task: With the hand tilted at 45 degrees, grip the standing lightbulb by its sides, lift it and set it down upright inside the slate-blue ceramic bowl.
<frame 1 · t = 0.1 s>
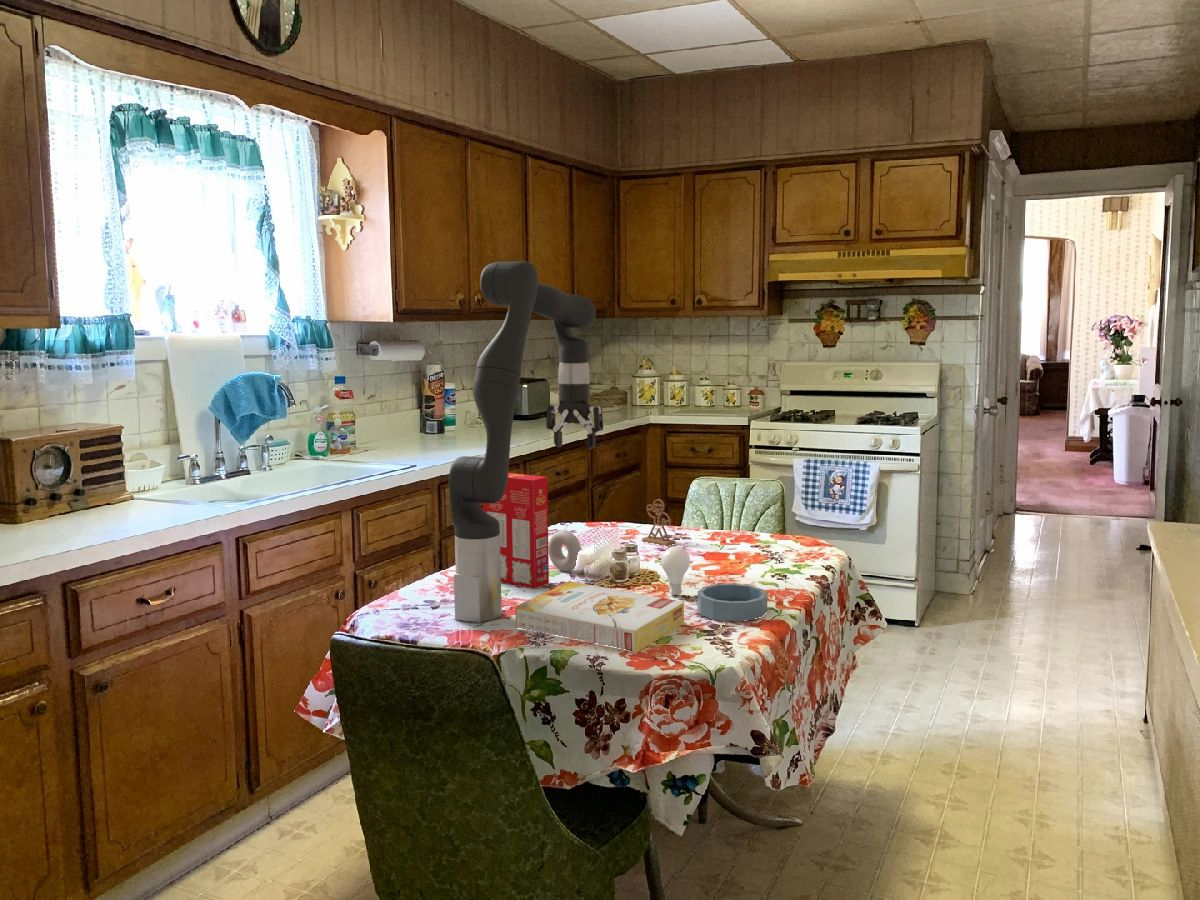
hand: (574, 448, 245), 29 cm above the table, tool pointing down, fingers open, 8 cm apart
bowl: (732, 611, 211), on the table
donut: (565, 571, 244), on the table
lightbulb: (675, 596, 223), on the table
gingerbread man figurine: (658, 543, 272), on the table
food packaging: (516, 582, 235), on the table
cereal box: (600, 629, 202), on the table
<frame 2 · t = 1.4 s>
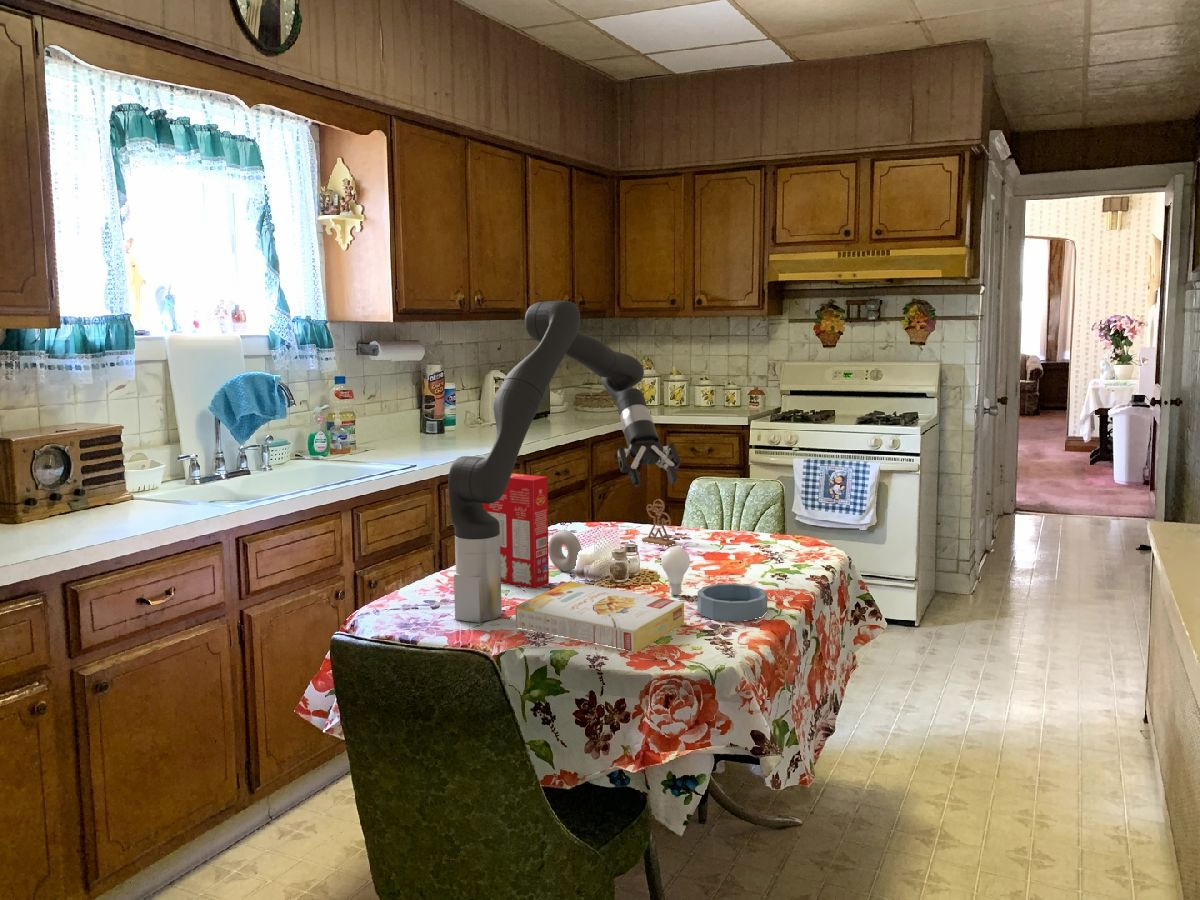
hand: (656, 483, 231), 23 cm above the table, tool tilted 45°, fingers open, 8 cm apart
nothing on the table moved.
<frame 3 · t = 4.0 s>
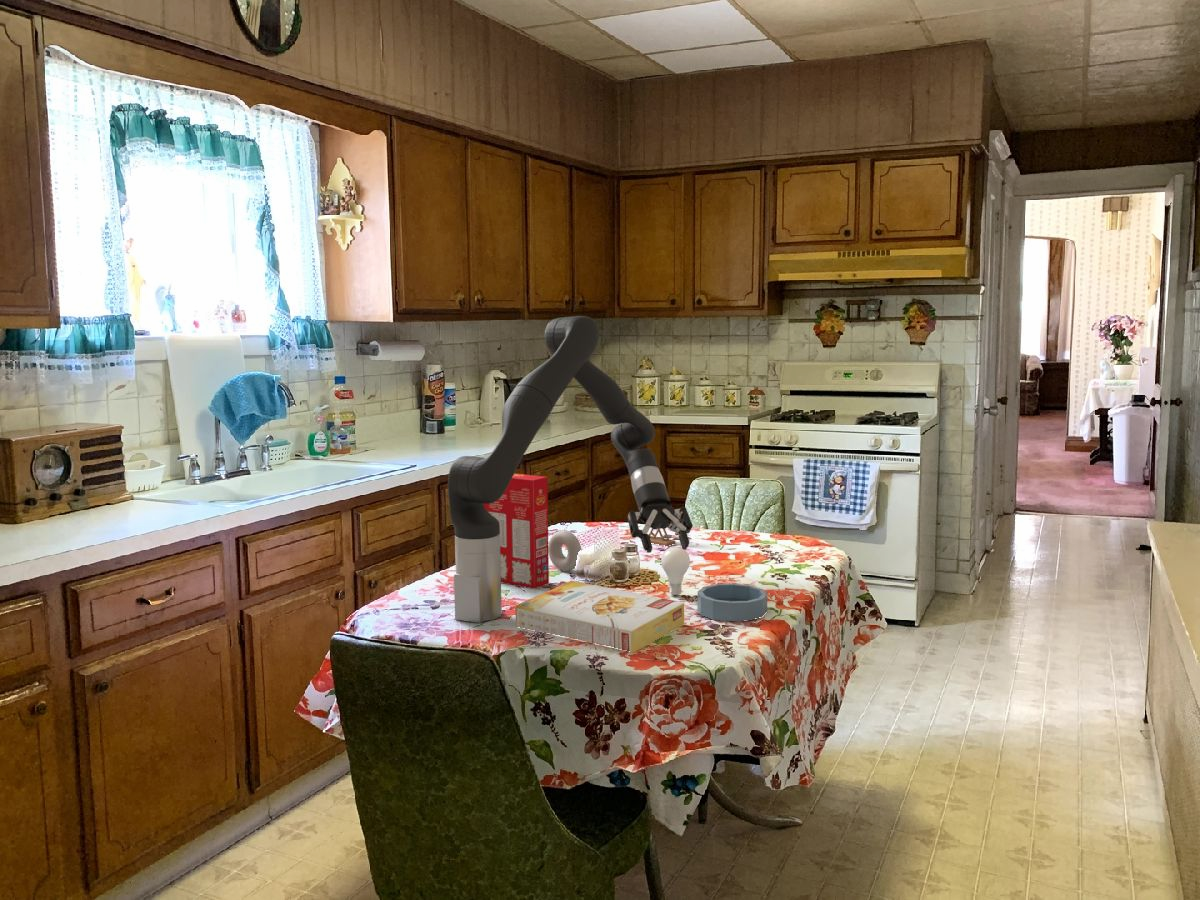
hand: (668, 549, 225), 9 cm above the table, tool tilted 45°, fingers open, 8 cm apart
nothing on the table moved.
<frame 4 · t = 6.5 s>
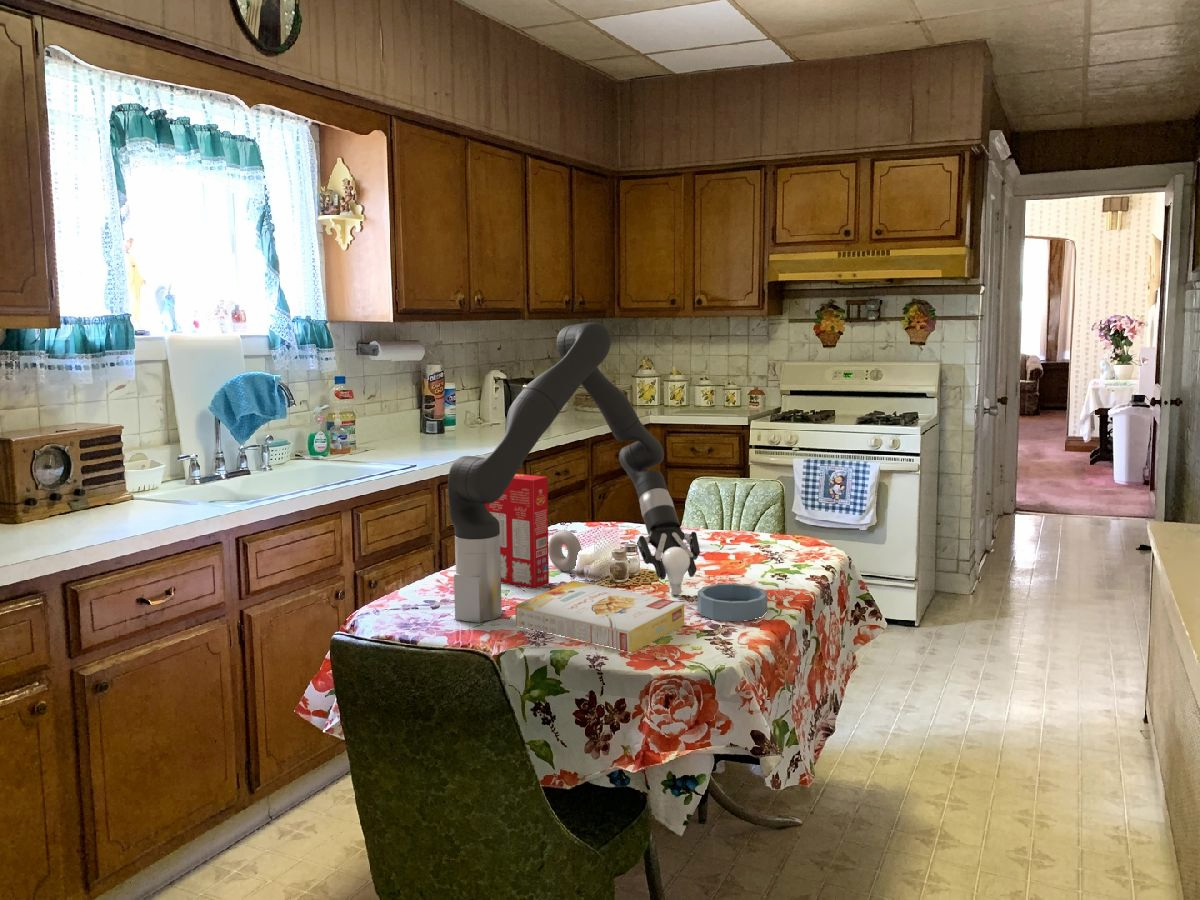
hand: (678, 576, 220), 5 cm above the table, tool tilted 45°, fingers closed on lightbulb, 6 cm apart
lightbulb: (675, 596, 223), on the table, touching gripper
everything else where it was.
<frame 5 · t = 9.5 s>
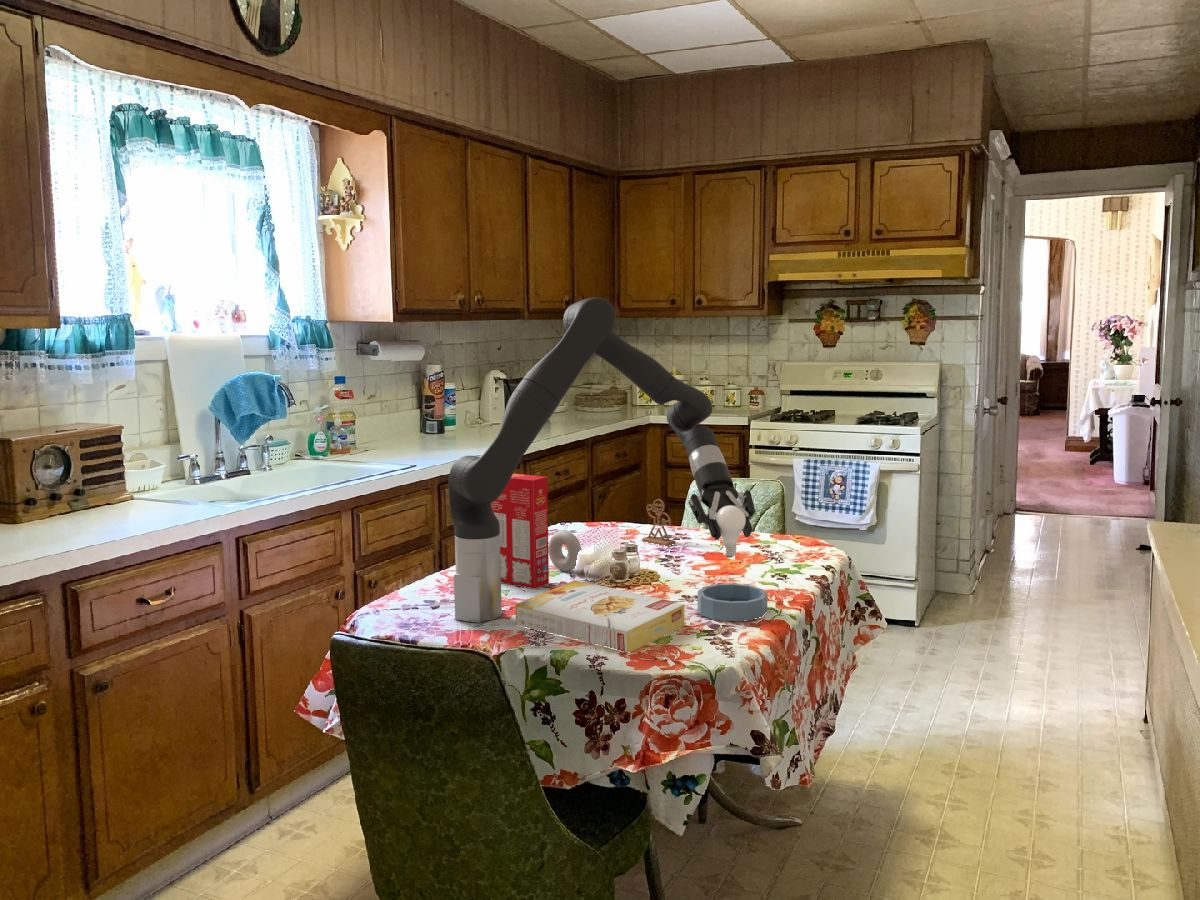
hand: (733, 536, 208), 16 cm above the table, tool tilted 45°, fingers closed on lightbulb, 6 cm apart
lightbulb: (729, 558, 211), point 11 cm above the table, touching gripper
everything else where it was.
when the fingers open (7 cm above the table, at t = 12.7 s): lightbulb drops 1 cm, resting on bowl.
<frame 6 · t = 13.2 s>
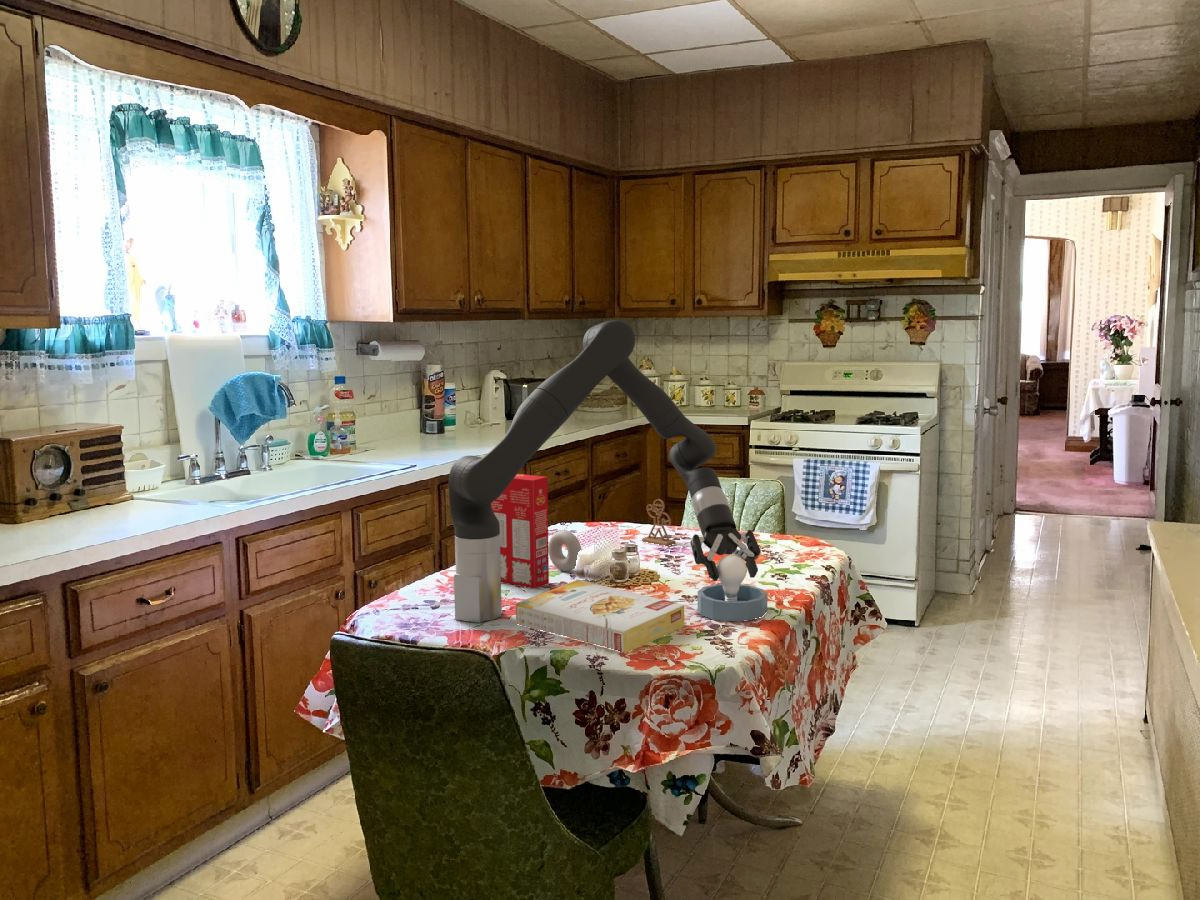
hand: (735, 577, 209), 8 cm above the table, tool tilted 45°, fingers open, 8 cm apart
lightbulb: (730, 607, 211), point 1 cm above the table, touching bowl
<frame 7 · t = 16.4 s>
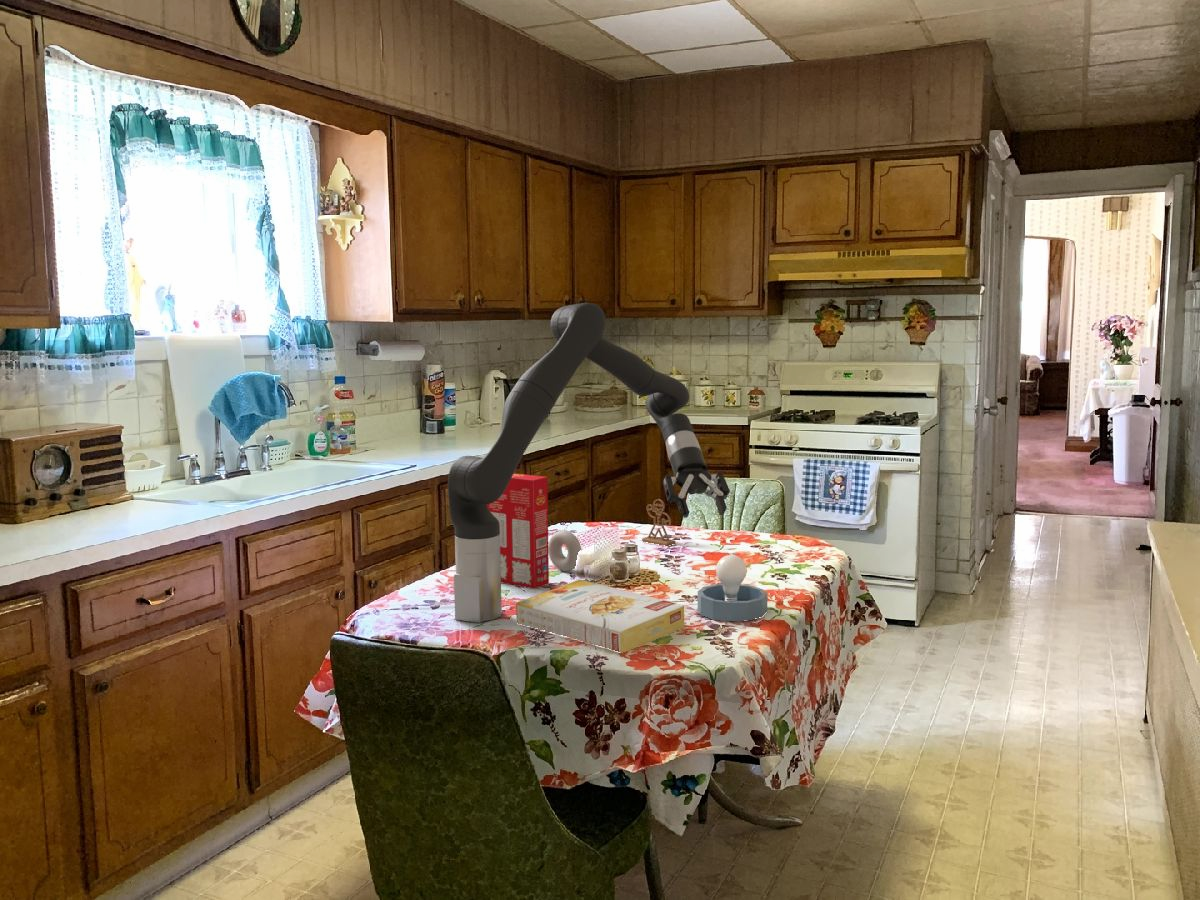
hand: (704, 514, 220), 18 cm above the table, tool tilted 45°, fingers open, 8 cm apart
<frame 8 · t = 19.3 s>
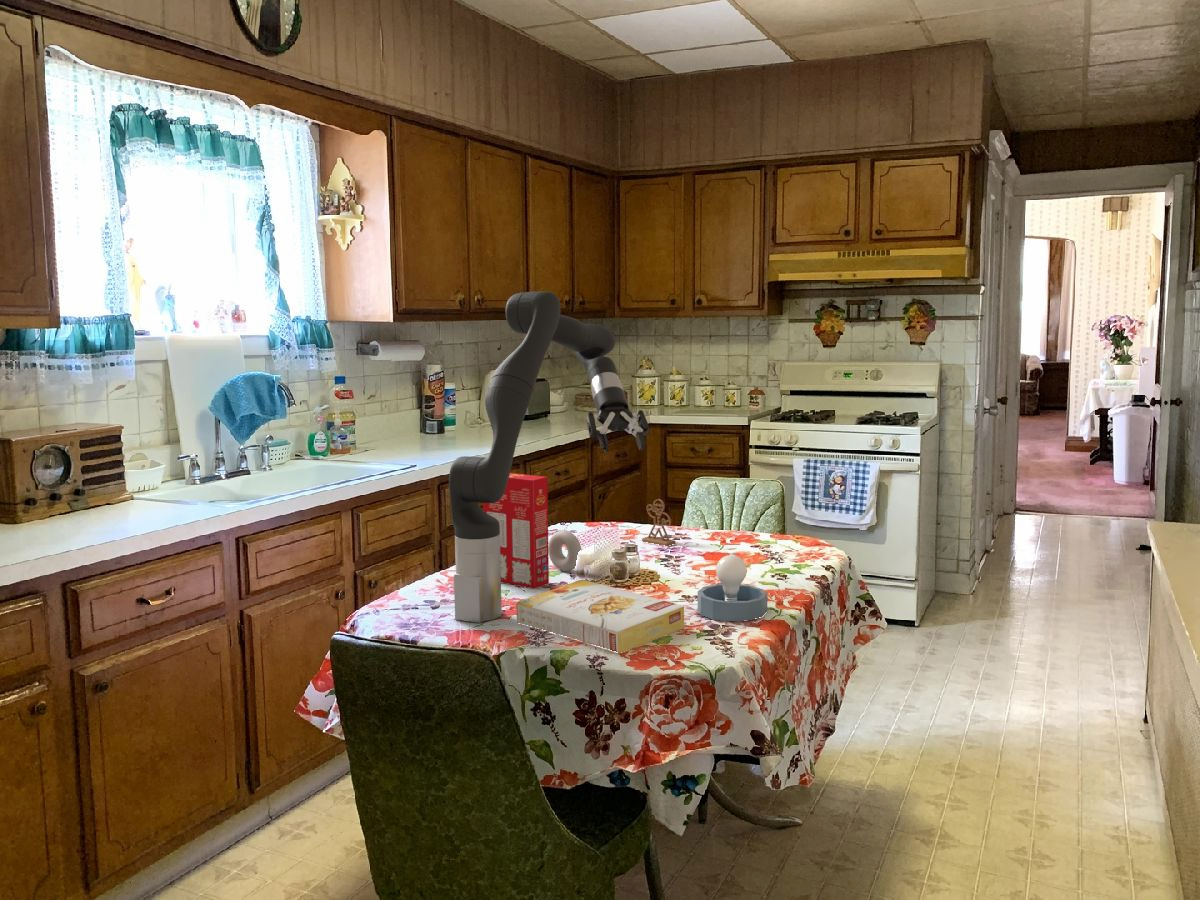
hand: (624, 449, 233), 31 cm above the table, tool tilted 45°, fingers open, 8 cm apart
at the end: lightbulb 0.3 cm from the bowl (horizontally); lightbulb point 0.8 cm above the table; the gripper is holding nothing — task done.
